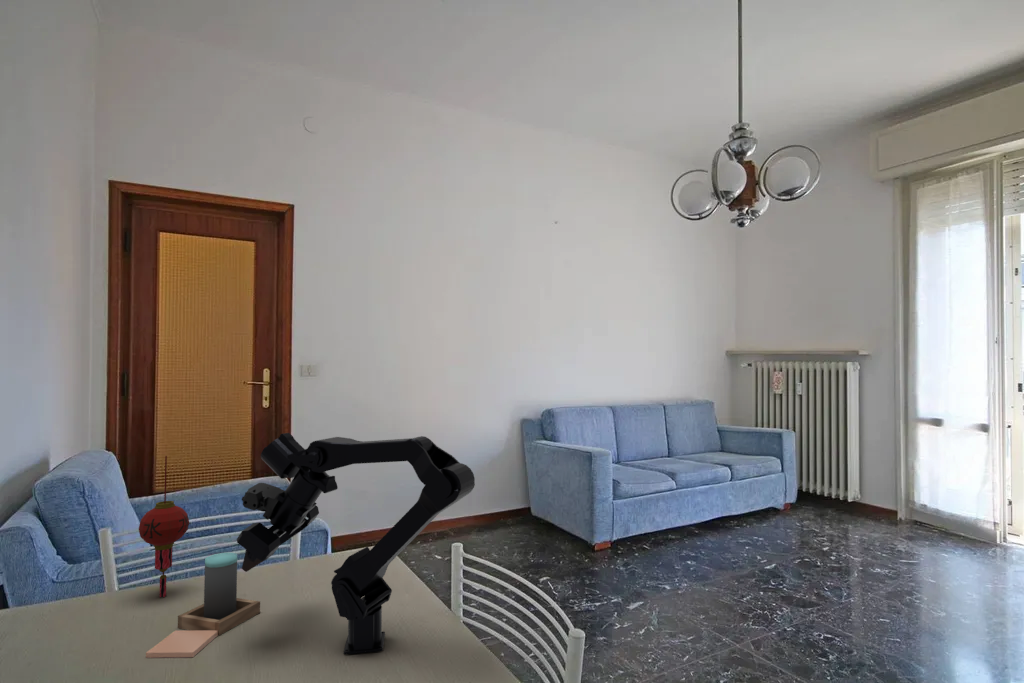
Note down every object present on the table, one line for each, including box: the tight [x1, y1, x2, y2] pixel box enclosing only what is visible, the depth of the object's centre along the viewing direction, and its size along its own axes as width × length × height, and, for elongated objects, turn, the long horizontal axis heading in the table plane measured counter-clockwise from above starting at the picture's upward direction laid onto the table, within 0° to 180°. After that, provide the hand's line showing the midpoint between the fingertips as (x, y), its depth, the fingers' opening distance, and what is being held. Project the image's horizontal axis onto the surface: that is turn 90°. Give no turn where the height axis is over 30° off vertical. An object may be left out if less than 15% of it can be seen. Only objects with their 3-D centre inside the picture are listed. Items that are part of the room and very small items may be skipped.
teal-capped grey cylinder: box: [203, 552, 238, 620], centre depth 108 cm, size 6×6×12 cm
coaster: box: [145, 630, 219, 659], centre depth 98 cm, size 8×8×1 cm
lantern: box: [138, 455, 190, 598], centre depth 120 cm, size 10×10×30 cm
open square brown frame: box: [177, 597, 261, 636], centre depth 108 cm, size 10×10×2 cm
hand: (259, 558), depth 106 cm, fingers open, 9 cm apart
